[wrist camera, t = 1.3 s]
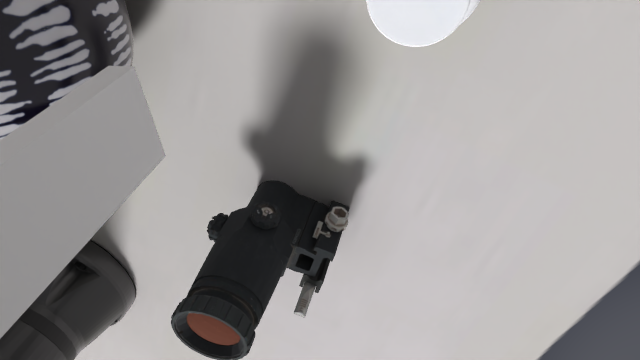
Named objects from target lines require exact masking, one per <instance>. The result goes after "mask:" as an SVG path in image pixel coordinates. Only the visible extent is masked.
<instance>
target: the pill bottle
mask: <svg viewBox="0 0 640 360" xmlns="http://www.w3.org/2000/svg"><path fill="white" fill-rule="evenodd" d="M366 2H367V8H368V12H369V15H370V17H371V19H372V21H373V23H374V25H375V26H376V28H377V29H378V30H379V31H380V32H381V33H382V34H383V35H384V36H385V37H387V38H388V39H390V40H391V41H393V42H395V43H398V44H401V45H404V46H410V47H422V46H428V45H431V44H434V43H437V42H439V41H441V40H443V39H444V38H446V37H447V36H449V35H450V34H451V33H452V32H453V31H454V30H455V29H456V28H457V27H458V26H459V25H460V24H461V23H463V22H464V21H465V20H466V19H467V18H468V17H469V16H470V15H471V14H472V12H473V11H474V10H475V9H476V7H477V5H478V4H479V2H480V0H366Z"/></svg>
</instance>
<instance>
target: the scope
mask: <svg viewBox="0 0 640 360" xmlns="http://www.w3.org/2000/svg"><path fill="white" fill-rule="evenodd" d="M314 201H315V200H312V199H310V198H307V197H305V196H302V195H300V194H298V193H297V192H296V191H295V190H294V189H293V188H292V187H290V186H288V185H287V184H285V183H282V182H279V181H267V182H264V183H262V184H261V185H260V186H259V187H258V189H257V190H256V192H255V194H254V196H253V197H252V199H251V201H250V203H249V204H248V206H247V207H246V208H242V209H238V210H236V211H234V212H231V214H230V215H229V217H228V215H224V214H223V213H220V214H218V215H217V216H214V217H213V218H212V219H214V220H211V221H210V222H209V224H208V227H207V228H208V230H207V232H208V234H209V239H210V240H214V242H215V244H214V245H213V247H212V249H211V251H210V252H209V254H208V256H207V258H206V260H205V262H204V264H203V266H202V268H201V269H200V271H199V273H198V275H197V277H196V279H195V281H194V283H193V285H192V287H191V289H190V290H189V293H188V295H187V298H185V299H183V300H182V302H180V303H179V305H178V306H177V308H176V310H175V311H174V313H173V315H172V317H171V318H172V320H171V325H172V328H173V330H174V332H175V334H176V336H177V337H178V338H179V339H180V340H181V341H182V342H183V343H184V344H185V345H187V346H188V347H189V348H191V349H192V350H194V351H196V352H198V353H200V354H202V355H204V356H206V357H209V358H213V359H217V360H238V359H241V358H243V357H244V356H246V355H247V354H248V353H249V351H250V348H251V346H252V343H253V341H254V338H255V331H254V330H255V328H256V327H257V326H258V324H259V322H260V319H261V318H262V315H263V313H264V311H265V309H266V307H267V305H268V303H269V300H270V298H271V296H272V294H273V292H274V290H275V288H276V286H277V283H278V281H279V279H280V277H282V276H283V274H284V272H285V270H286V268H289V269H291V270H293V271H296V272H300V273H304V275H303V277H302V280H301V283H300V285H299V286H301V287H303V288H302V291H301V294H300V297H299V300H298V302H297V305H296V308H295V311H294V314H296V315H299V316H302V317H304V318H305V316H306V312H307V309H308V306H309V303H310V301H311V298H312V295H313V292H314V290H315V287H316V286H317V287H316V290H315V292H316V293H318V292H319V290H320V288H321V286H322V284H323V282H324V278H325V275H326V272H327V269H328V266H329V263H330V260H331V262H332V261H333V258H334V256H335V253H336V250H337V247H338V244H339V240H340V237H341V234H342V231H343V230H345V229H346V227H347V225H348V219H347V218H348V214H349V213H348V211H349V207H347V206H345V205H342V204H340V203H337V202H335V201H332V202H331V204H330V207H328V206H326V205H324V204H322V203H320V202H317V201H315V202H314ZM304 282H305V283H304ZM303 285H304V286H303Z"/></svg>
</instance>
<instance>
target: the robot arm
mask: <svg viewBox="0 0 640 360" xmlns="http://www.w3.org/2000/svg"><path fill="white" fill-rule="evenodd" d="M165 156H166V155H165V152H164V150H163V147H162V144H161V141H160V138H159V135H158V133H157V130H156V127H155V124H154V121H153V118H152V116H151V113H150V110H149V107H148V104H147V101H146V99H145V96H144V93H143V90H142V87H141V84H140V81H139V79H138V76H137V73H136V70H135V67H134V66H108V67H106V68H105V69H103V70H102V71H100V72H99V73H97V74H96V75H94V76H93V77H92V78H90V79H89V80H87V81H86V82H84V83H83V84H81V85H80V86H78V87H77V88H76V89H74V90H73V91H71V92H70V93H68V94H67V95H65V96H64V97H62V98H61V99H59V100H58V101H57V102H55V103H54V104H52V105H51V106H49V107H48V108H46V109H45V110H43V111H42V112H41V113H39V114H38V115H36V116H35V117H33V118H32V119H30V120H29V121H27V122H26V123H24V124H23V125H22V126H20V127H19V128H17V129H16V130H14V131H13V132H11V133H10V134H8V135H7V136H6V137H4V138H3V139H1V140H0V360H74V359H75V357H76V356H77V355H78V353H79V352H80V351H81V350H82V349H84V348H85V347H86V346H87V345H89V344H90V343H91V342H92V341H93V340H95V339H96V338H97V337H98V336H99V335H100V334H101V333H102V332H104V331H105V330H106V329H107V328H108V327H109V326H111V325H114V324H116V323H117V322H118V321H120V320H121V319H122V318H123V317H124V315H125V314H126V312H127V311H128V310H129V308H130V307H131V305H132V304H133V302H134V300H135V288H134V285H133V282H132V280H131V278H130V277H129V275H128V274H127V272H126V271H125V270H124V268H123V267H122V266H121V265H120V264H119V263H118V262H117V261H116V260H115V259H114V258H113V257H112V256H111V255H110V254H109V253H107V252H106V251H105V250H103V249H102V248H101V247H99V246H98V245H96V244H95V243H93V242H92V241H90V239H91V238H92V237H93V236H94V234H95V233H96V232H97V231H98V230H99V229H100V228H101V227H102V226H103V225H104V223H105V222H106V221H107V220H108V219H109V218H110V217H111V216H112V215H113V213H114V212H115V211H116V210H117V209H118V208H119V207H120V206H121V205H122V203H123V202H124V201H125V200H126V199H127V198H128V197H129V196H130V195H131V194H132V192H133V191H134V190H135V189H136V188H137V187H138V186H139V185H140V184H141V182H142V181H143V180H144V179H145V178H146V177H147V176H148V175H149V174H150V172H151V171H152V170H153V169H154V168H155V167H156V166H157V165H158V164H159V163H160V161H161V160H162V159H163V158H164V157H165Z"/></svg>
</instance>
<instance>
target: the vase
mask: <svg viewBox="0 0 640 360" xmlns="http://www.w3.org/2000/svg"><path fill="white" fill-rule="evenodd" d="M132 60H133V35H132V29H131V22H130V17H129V13H128V10H127V6H126V3H125V0H0V140H1V139H3V138H4V137H6V136H7V135H8V134H10V133H11V132H13V131H14V130H16V129H17V128H19V127H20V126H22V125H23V124H24V123H26V122H27V121H29V120H30V119H32V118H33V117H35V116H36V115H38V114H39V113H41V112H42V111H43V110H45V109H46V108H48V107H49V106H51V105H52V104H54V103H55V102H57V101H58V100H59V99H61V98H62V97H64V96H65V95H67V94H68V93H70V92H71V91H73V90H74V89H76V88H77V87H78V86H80V85H81V84H83V83H84V82H86V81H87V80H89V79H90V78H92V77H93V76H94V75H96V74H97V73H99V72H100V71H102V70H103V69H105V68H106V67H108V66H132Z"/></svg>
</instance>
